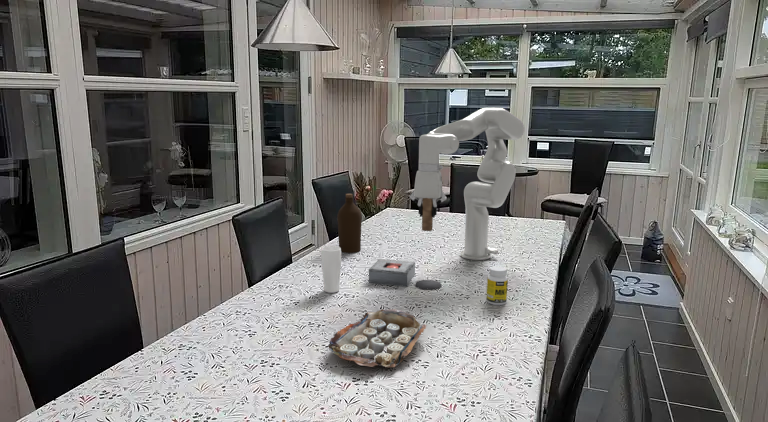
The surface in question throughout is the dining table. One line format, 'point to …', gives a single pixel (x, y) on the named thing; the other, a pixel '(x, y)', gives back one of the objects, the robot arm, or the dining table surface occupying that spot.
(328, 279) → the drinking glass
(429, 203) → the tan wooden rod
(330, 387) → the dining table surface
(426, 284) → the coaster
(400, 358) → the baking tray
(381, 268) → the grey square holed block
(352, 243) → the olive oil
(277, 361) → the dining table surface
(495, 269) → the supplement bottle
